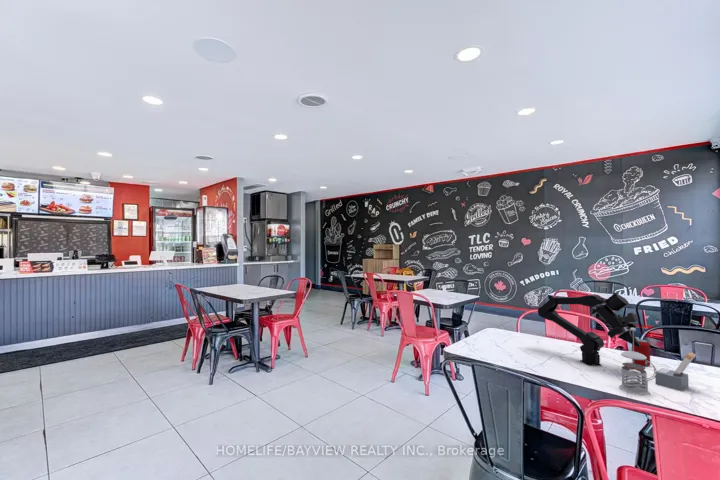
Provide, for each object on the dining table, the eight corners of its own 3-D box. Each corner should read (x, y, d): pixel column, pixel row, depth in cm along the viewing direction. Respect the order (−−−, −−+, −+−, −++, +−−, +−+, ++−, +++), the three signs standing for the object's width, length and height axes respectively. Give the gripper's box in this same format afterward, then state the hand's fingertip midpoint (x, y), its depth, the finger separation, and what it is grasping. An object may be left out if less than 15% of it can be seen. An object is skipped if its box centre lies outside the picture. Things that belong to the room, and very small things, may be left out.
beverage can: (643, 362, 162) (642, 338, 162) (654, 367, 155) (653, 342, 156) (628, 361, 163) (628, 338, 163) (639, 366, 156) (638, 341, 156)
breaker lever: (672, 373, 132) (686, 353, 128) (676, 370, 135) (690, 351, 131) (678, 376, 130) (692, 357, 127) (682, 373, 133) (696, 354, 130)
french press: (616, 383, 136) (615, 323, 136) (652, 389, 130) (651, 327, 131) (621, 391, 127) (620, 328, 128) (660, 398, 121) (658, 332, 122)
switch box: (655, 384, 135) (655, 369, 135) (662, 379, 140) (662, 365, 140) (681, 391, 128) (681, 375, 128) (688, 386, 133) (688, 371, 133)
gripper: (615, 308, 143) (647, 339, 134) (632, 305, 153) (663, 333, 144) (595, 322, 150) (624, 353, 140) (612, 318, 160) (641, 346, 150)
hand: (639, 346), depth 143 cm, fingers closed
